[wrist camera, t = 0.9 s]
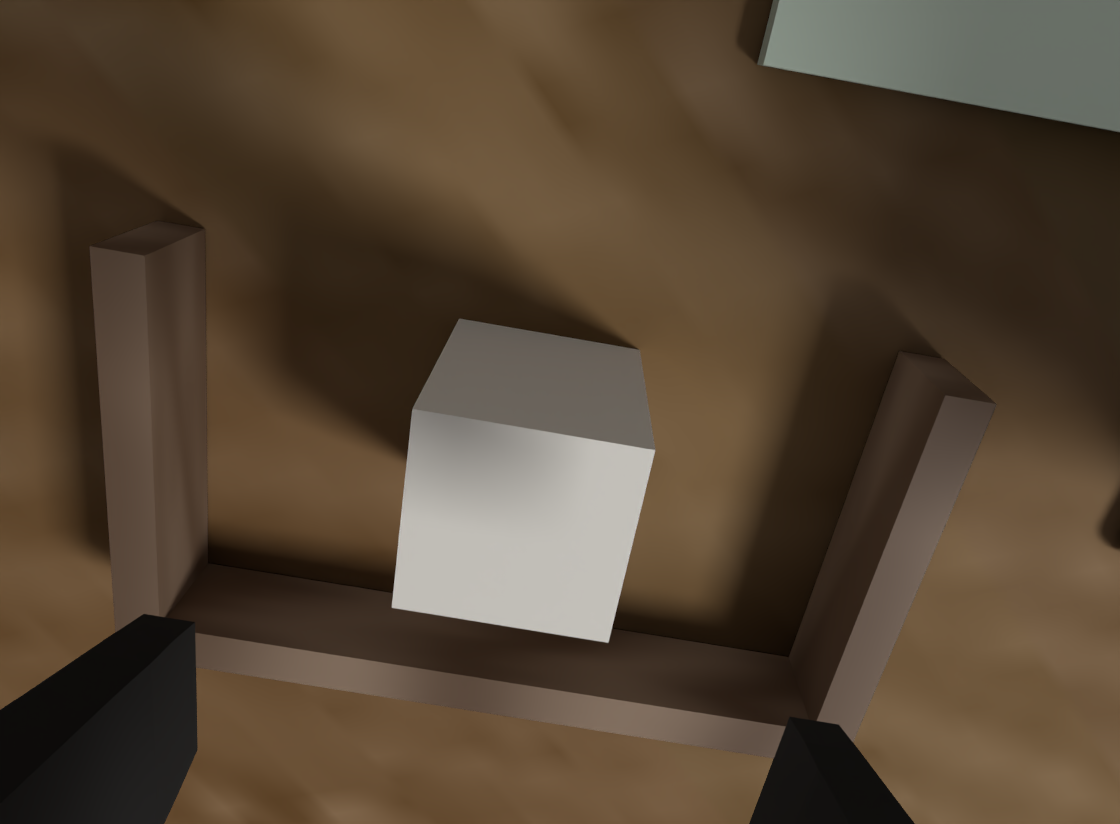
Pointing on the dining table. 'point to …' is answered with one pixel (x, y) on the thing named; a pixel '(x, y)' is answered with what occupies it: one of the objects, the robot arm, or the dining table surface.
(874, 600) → the brown u-shaped bracket
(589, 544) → the cream block
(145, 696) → the robot arm
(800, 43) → the pad
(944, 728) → the dining table surface
